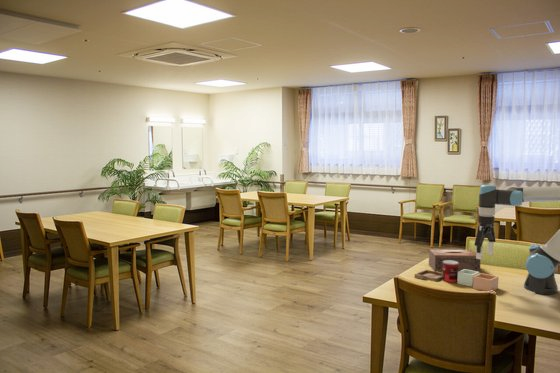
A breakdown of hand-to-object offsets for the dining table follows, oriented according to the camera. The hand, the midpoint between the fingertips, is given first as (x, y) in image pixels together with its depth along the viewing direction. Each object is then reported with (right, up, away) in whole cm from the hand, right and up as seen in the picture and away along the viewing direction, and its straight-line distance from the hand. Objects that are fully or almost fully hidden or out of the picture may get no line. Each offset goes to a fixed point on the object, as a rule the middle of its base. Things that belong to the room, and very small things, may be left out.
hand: (484, 256), depth 244 cm
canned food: (-12, -16, +14) cm, 25 cm away
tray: (-20, -15, +22) cm, 33 cm away
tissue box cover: (-1, -13, +41) cm, 43 cm away
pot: (+1, -17, +1) cm, 17 cm away
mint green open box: (-5, -16, +9) cm, 19 cm away
